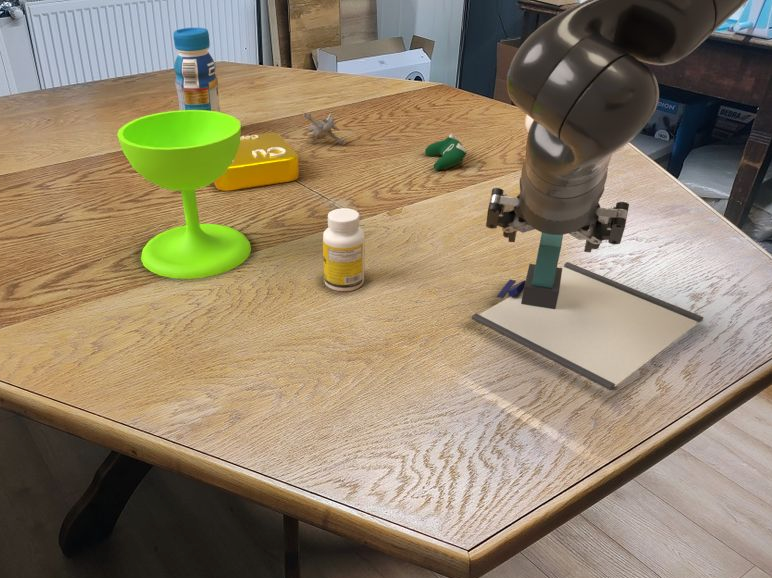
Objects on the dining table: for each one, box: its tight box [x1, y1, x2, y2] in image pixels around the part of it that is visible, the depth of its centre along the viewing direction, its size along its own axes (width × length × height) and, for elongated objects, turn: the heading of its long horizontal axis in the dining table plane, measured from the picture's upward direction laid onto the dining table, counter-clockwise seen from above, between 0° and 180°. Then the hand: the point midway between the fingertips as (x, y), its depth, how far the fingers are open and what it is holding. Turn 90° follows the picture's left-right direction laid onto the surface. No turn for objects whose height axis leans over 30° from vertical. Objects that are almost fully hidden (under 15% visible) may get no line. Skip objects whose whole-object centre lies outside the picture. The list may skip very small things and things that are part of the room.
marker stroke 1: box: [496, 278, 516, 299], centre depth 87 cm, size 5×1×1 cm
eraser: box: [521, 232, 564, 309], centre depth 83 cm, size 6×4×8 cm, turn 159°
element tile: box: [212, 132, 300, 192], centre depth 123 cm, size 15×15×5 cm
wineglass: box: [117, 109, 252, 280], centre depth 94 cm, size 16×16×18 cm
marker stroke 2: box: [507, 279, 526, 297], centre depth 86 cm, size 5×1×1 cm
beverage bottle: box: [172, 27, 221, 112], centre depth 136 cm, size 8×8×20 cm
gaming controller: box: [424, 132, 468, 172], centre depth 125 cm, size 9×4×6 cm
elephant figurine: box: [303, 111, 346, 146], centre depth 135 cm, size 10×6×9 cm
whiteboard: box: [471, 261, 704, 391], centre depth 81 cm, size 20×18×2 cm
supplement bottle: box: [322, 207, 366, 292], centre depth 88 cm, size 5×5×10 cm
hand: (550, 239), depth 81 cm, fingers open, 8 cm apart
